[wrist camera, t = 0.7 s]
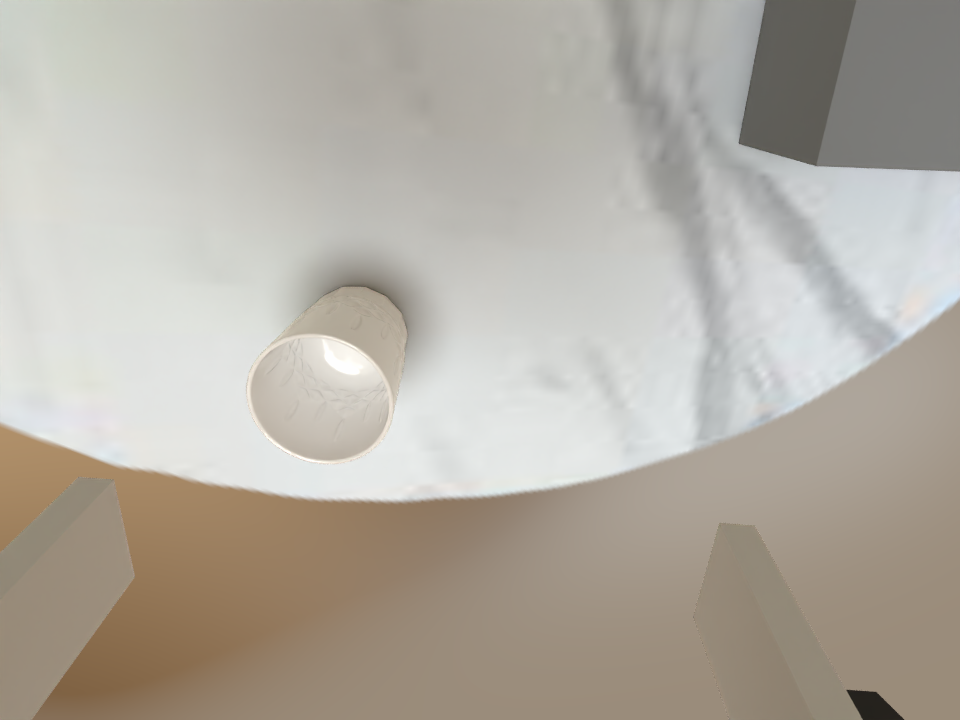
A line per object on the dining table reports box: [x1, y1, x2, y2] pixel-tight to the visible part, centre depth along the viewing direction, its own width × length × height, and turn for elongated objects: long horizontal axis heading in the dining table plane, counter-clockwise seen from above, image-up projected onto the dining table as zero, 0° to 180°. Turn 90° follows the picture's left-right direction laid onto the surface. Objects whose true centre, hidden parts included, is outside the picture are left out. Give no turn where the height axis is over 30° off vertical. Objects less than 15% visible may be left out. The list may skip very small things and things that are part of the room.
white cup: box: [246, 287, 408, 464], centre depth 38 cm, size 8×8×10 cm
